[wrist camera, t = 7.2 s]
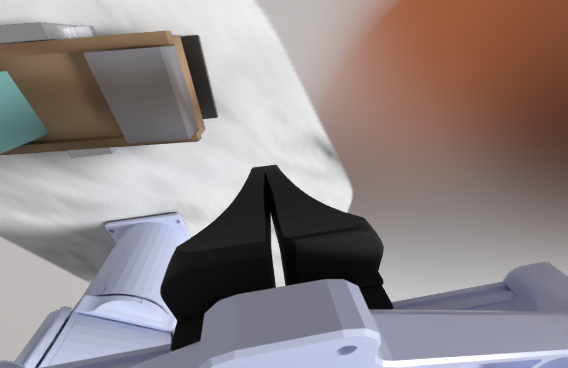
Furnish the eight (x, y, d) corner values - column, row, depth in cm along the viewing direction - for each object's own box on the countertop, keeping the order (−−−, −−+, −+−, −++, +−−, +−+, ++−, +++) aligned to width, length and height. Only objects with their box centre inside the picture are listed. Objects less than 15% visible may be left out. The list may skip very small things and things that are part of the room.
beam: (208, 128, 18) (192, 149, 14) (-9, 143, 18) (-71, 167, 15) (182, 31, 14) (153, 30, 11) (-86, 54, 15) (-192, 58, 11)
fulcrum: (220, 127, 20) (216, 141, 18) (-4, 152, 19) (-45, 171, 16) (194, 17, 16) (184, 12, 13) (-104, 38, 14) (-183, 38, 12)
